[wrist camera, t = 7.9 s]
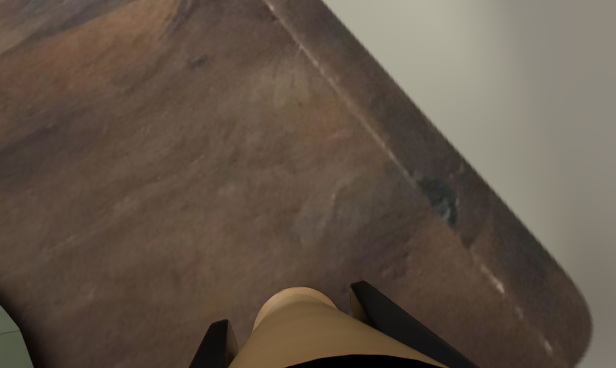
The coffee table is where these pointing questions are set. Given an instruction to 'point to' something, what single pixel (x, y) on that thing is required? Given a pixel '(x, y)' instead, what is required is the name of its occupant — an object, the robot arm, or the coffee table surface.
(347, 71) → the coffee table surface
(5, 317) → the bowl
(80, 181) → the coffee table surface
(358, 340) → the tan wooden cylinder
